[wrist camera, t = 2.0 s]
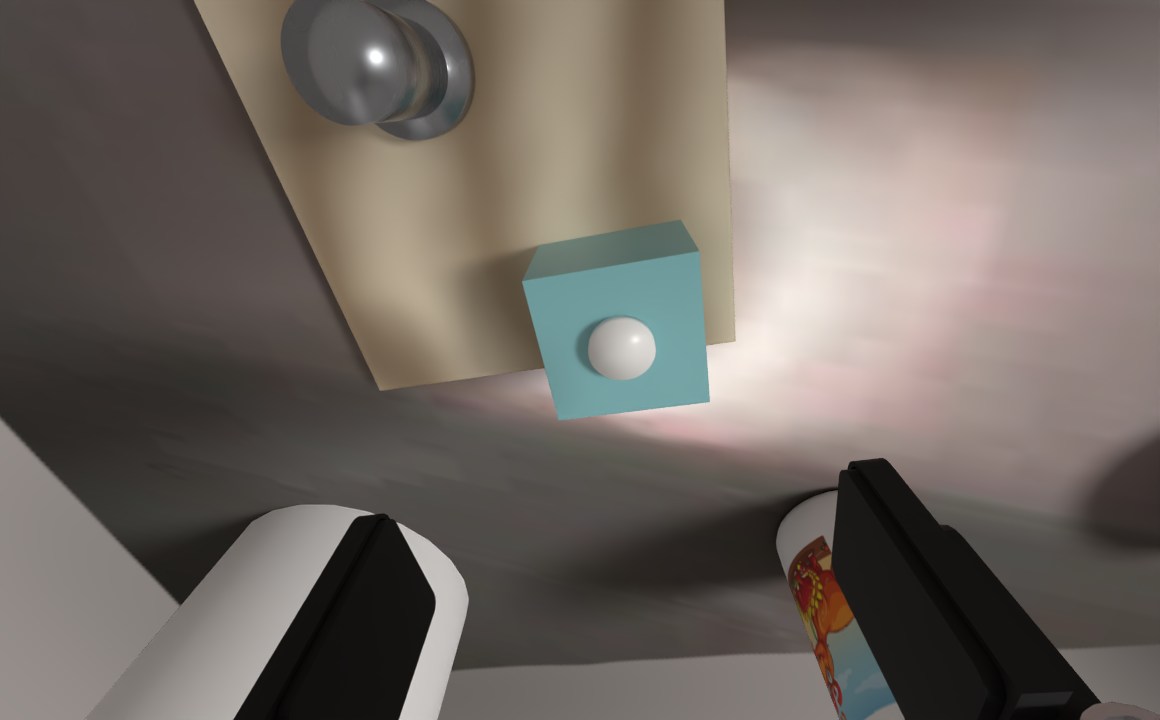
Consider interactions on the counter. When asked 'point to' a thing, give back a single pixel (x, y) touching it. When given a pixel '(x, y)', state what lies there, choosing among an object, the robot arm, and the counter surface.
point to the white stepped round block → (270, 622)
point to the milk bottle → (831, 613)
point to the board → (500, 170)
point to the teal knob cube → (620, 320)
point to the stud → (380, 64)
